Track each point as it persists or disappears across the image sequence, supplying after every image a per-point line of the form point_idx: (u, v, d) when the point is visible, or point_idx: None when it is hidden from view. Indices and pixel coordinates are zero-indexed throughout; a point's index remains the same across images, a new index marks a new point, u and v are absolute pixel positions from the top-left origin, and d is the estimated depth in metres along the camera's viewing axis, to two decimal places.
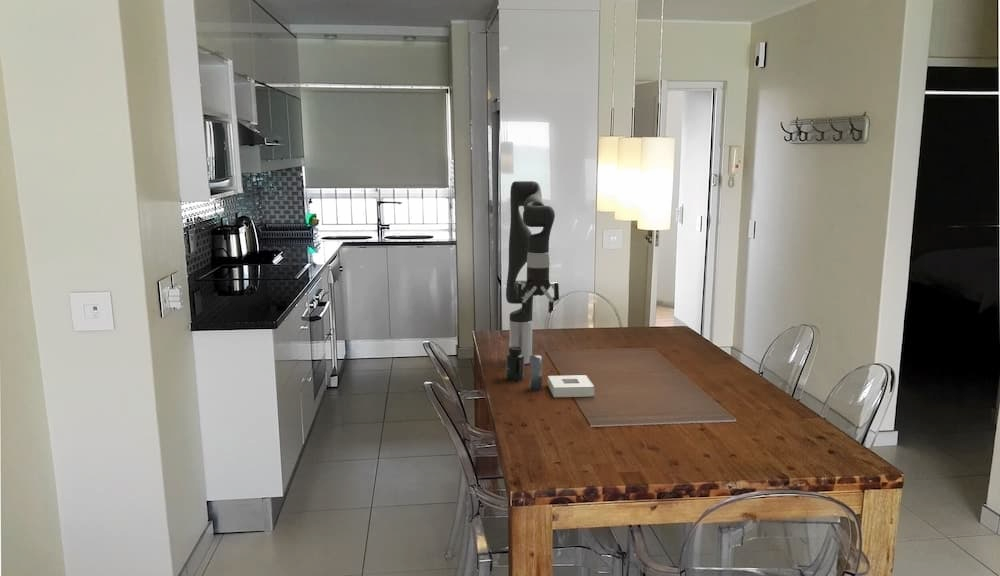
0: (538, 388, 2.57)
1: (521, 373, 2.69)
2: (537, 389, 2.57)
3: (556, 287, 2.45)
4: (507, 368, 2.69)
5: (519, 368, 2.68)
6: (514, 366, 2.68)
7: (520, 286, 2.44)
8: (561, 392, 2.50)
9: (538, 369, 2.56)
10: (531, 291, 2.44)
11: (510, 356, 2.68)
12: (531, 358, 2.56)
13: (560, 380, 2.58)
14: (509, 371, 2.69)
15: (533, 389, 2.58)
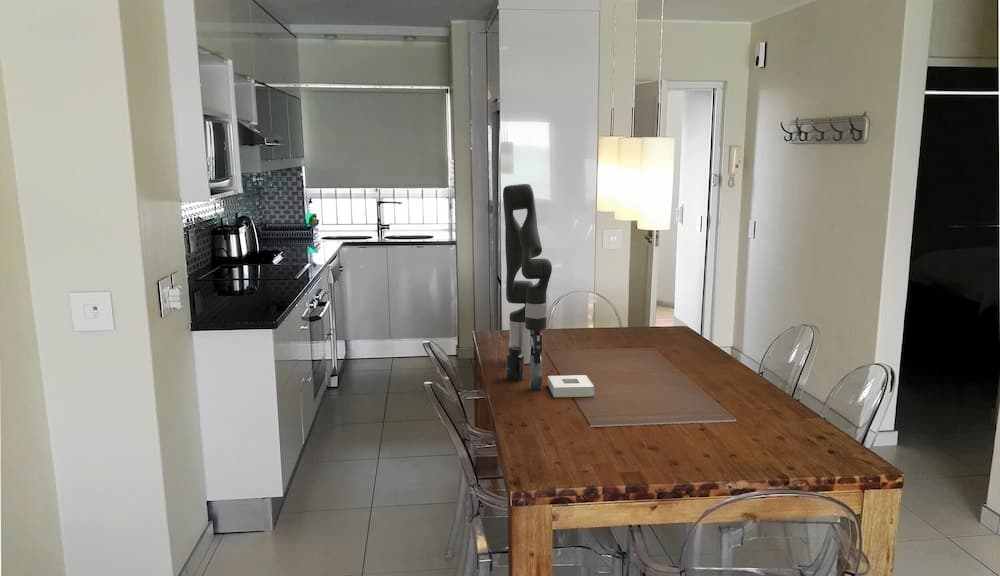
0: (538, 388, 2.57)
1: (521, 373, 2.69)
2: (537, 389, 2.57)
3: None
4: (507, 368, 2.69)
5: (519, 368, 2.68)
6: (514, 366, 2.68)
7: None
8: (561, 392, 2.50)
9: (538, 369, 2.56)
10: None
11: (510, 356, 2.68)
12: (531, 358, 2.56)
13: (560, 380, 2.58)
14: (509, 371, 2.69)
15: (533, 389, 2.58)
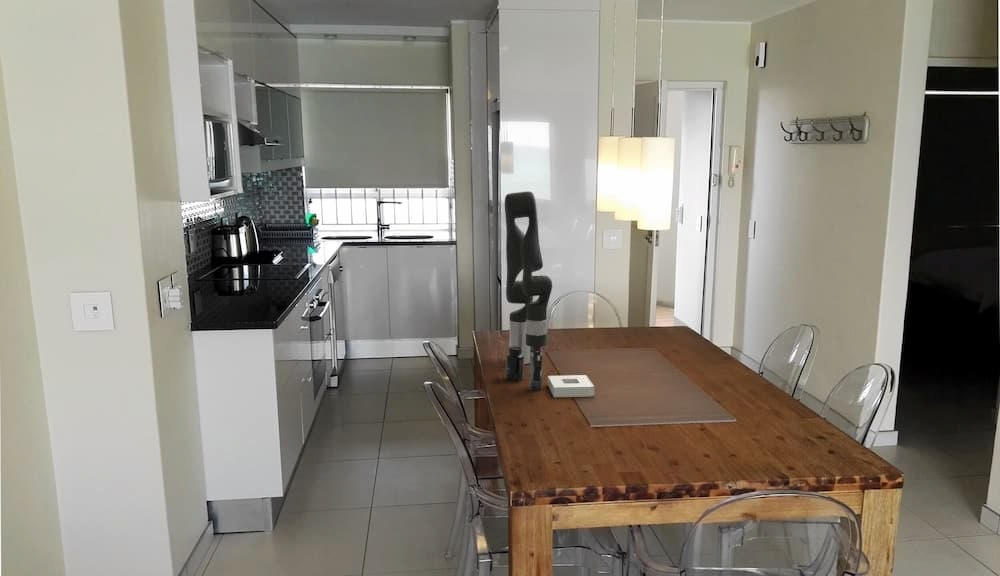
0: (538, 388, 2.57)
1: (521, 373, 2.69)
2: (537, 389, 2.57)
3: None
4: (507, 368, 2.69)
5: (519, 368, 2.68)
6: (514, 366, 2.68)
7: None
8: (561, 392, 2.50)
9: None
10: None
11: (510, 356, 2.68)
12: (531, 358, 2.56)
13: (560, 380, 2.58)
14: (509, 371, 2.69)
15: (533, 389, 2.58)
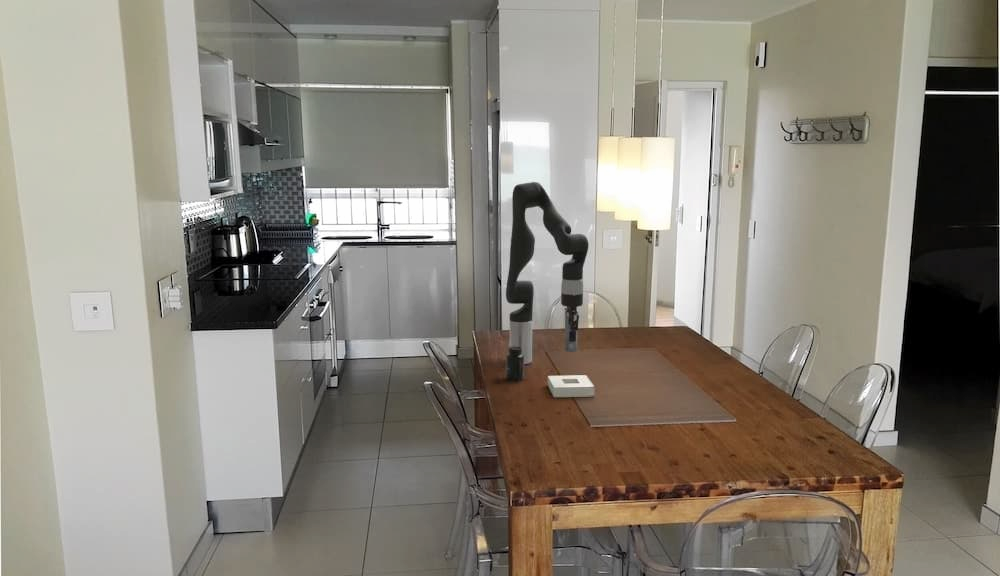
0: (573, 350, 2.53)
1: (521, 373, 2.69)
2: (573, 350, 2.53)
3: None
4: (507, 368, 2.69)
5: (519, 368, 2.68)
6: (514, 366, 2.68)
7: None
8: (561, 392, 2.50)
9: None
10: None
11: (510, 356, 2.68)
12: None
13: (560, 380, 2.58)
14: (509, 371, 2.69)
15: (568, 350, 2.53)
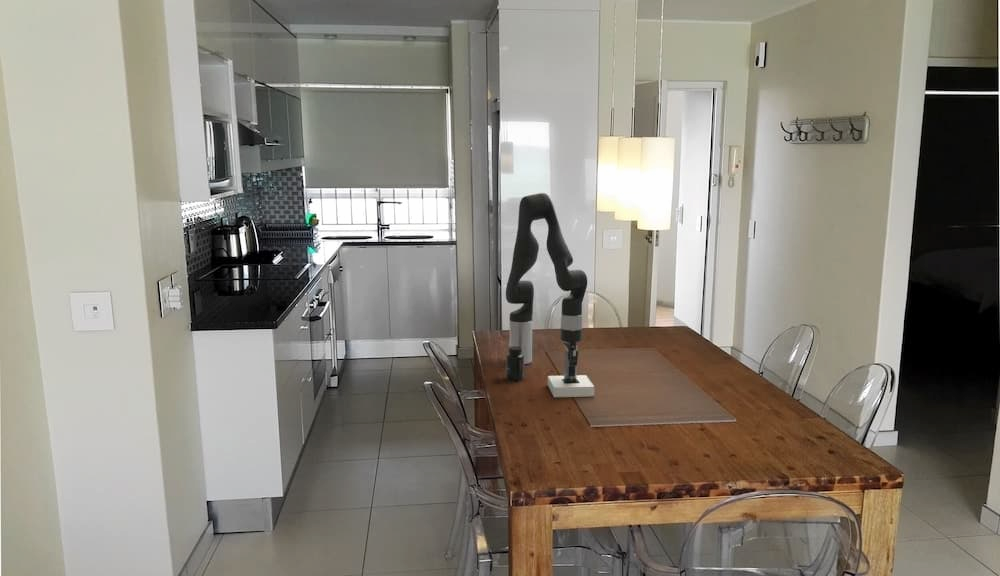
0: None
1: (521, 373, 2.69)
2: None
3: None
4: (507, 368, 2.69)
5: (519, 368, 2.68)
6: (514, 366, 2.68)
7: None
8: (561, 392, 2.50)
9: None
10: None
11: (510, 356, 2.68)
12: (566, 353, 2.54)
13: (560, 380, 2.58)
14: (509, 371, 2.69)
15: None
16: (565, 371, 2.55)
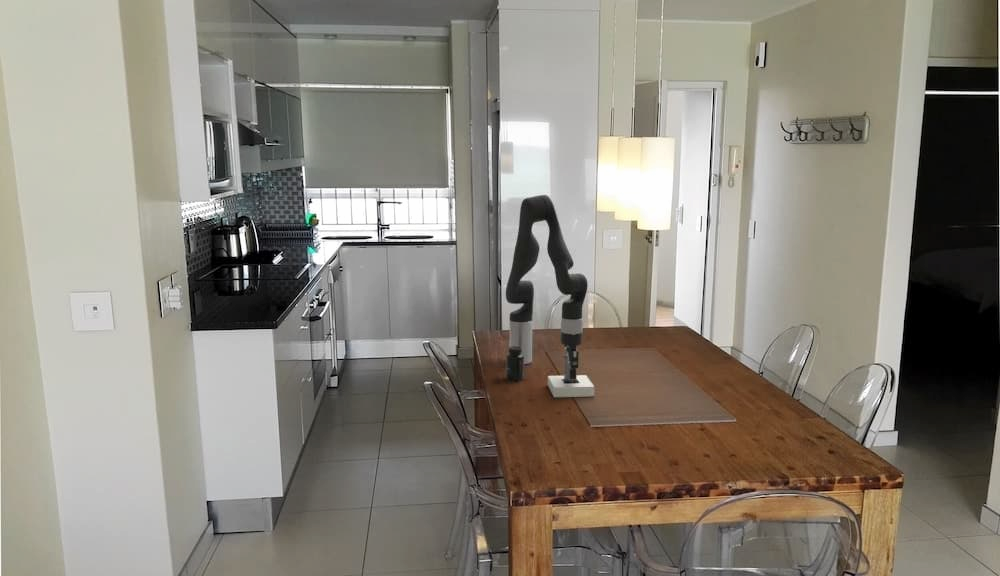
0: None
1: (521, 373, 2.69)
2: None
3: None
4: (507, 368, 2.69)
5: (519, 368, 2.68)
6: (514, 366, 2.68)
7: None
8: (561, 392, 2.50)
9: None
10: None
11: (510, 356, 2.68)
12: (566, 359, 2.55)
13: (560, 380, 2.58)
14: (509, 371, 2.69)
15: None
16: (565, 376, 2.56)
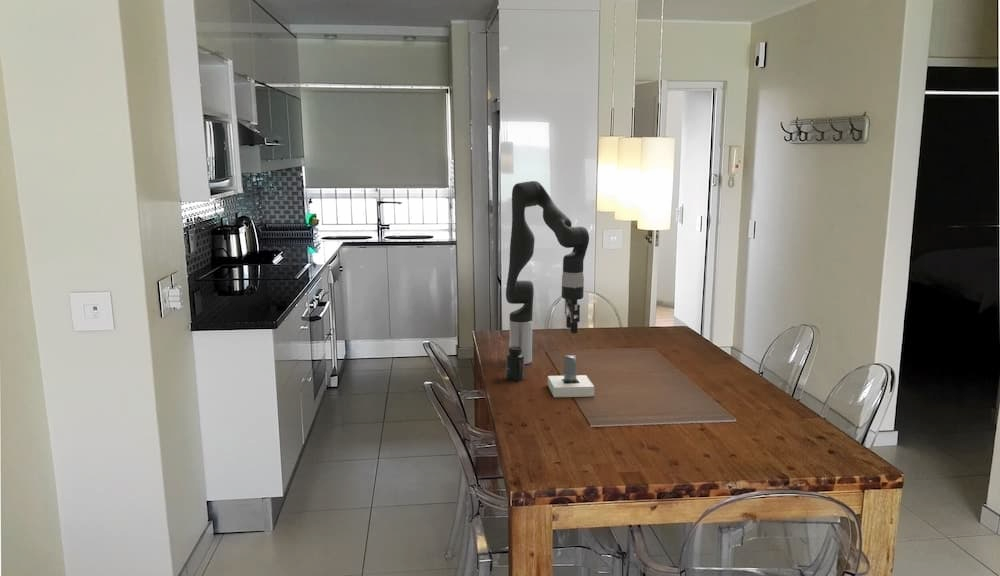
0: None
1: (521, 373, 2.69)
2: None
3: None
4: (507, 368, 2.69)
5: (519, 368, 2.68)
6: (514, 366, 2.68)
7: None
8: (561, 392, 2.50)
9: (573, 370, 2.54)
10: None
11: (510, 356, 2.68)
12: (565, 359, 2.54)
13: (560, 380, 2.58)
14: (509, 371, 2.69)
15: None
16: (565, 376, 2.56)
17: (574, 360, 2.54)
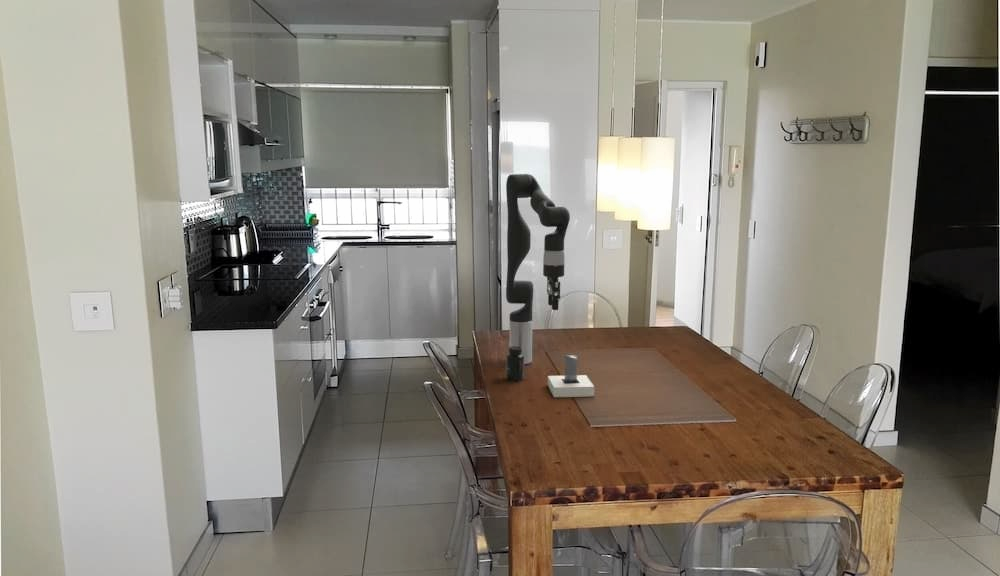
0: None
1: (521, 373, 2.69)
2: None
3: None
4: (507, 368, 2.69)
5: (519, 368, 2.68)
6: (514, 366, 2.68)
7: None
8: (561, 392, 2.50)
9: (573, 370, 2.55)
10: None
11: (510, 356, 2.68)
12: (567, 358, 2.55)
13: (560, 380, 2.58)
14: (509, 371, 2.69)
15: None
16: (565, 376, 2.56)
17: (575, 360, 2.54)
